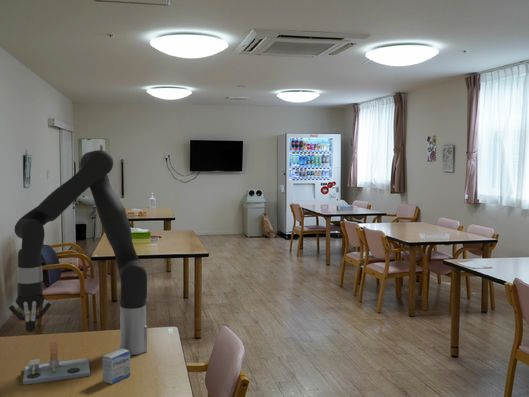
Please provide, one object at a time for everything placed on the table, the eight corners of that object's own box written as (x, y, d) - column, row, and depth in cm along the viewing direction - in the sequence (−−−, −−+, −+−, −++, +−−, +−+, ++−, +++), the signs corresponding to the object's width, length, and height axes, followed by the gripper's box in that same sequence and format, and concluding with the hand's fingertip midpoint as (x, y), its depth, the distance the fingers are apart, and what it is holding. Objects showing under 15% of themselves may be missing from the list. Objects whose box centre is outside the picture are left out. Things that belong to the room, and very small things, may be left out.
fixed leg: (39, 366, 171) (39, 359, 171) (38, 374, 165) (38, 367, 165) (29, 367, 170) (29, 360, 170) (28, 376, 164) (28, 368, 164)
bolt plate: (88, 361, 179) (88, 356, 179) (90, 375, 168) (89, 369, 168) (25, 369, 172) (25, 363, 172) (22, 384, 161) (22, 378, 161)
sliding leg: (59, 363, 173) (58, 338, 173) (58, 371, 167) (58, 345, 166) (49, 364, 172) (48, 339, 172) (48, 373, 166) (48, 346, 165)
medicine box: (111, 385, 162) (111, 358, 161) (102, 381, 164) (102, 355, 164) (130, 376, 169) (130, 350, 168) (121, 372, 171) (120, 347, 170)
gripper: (52, 275, 172) (52, 326, 173) (8, 278, 167) (9, 329, 169) (51, 281, 165) (52, 333, 166) (6, 283, 160) (6, 337, 162)
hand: (30, 331), depth 168 cm, fingers closed
